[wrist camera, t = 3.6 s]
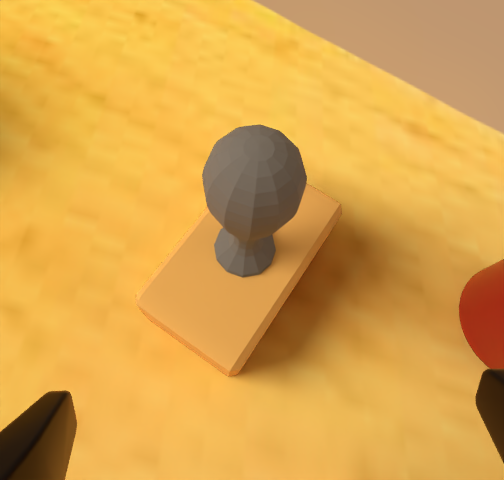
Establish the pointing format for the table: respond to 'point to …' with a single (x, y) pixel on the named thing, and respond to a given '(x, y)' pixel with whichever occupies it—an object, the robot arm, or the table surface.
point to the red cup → (485, 314)
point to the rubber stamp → (240, 248)
